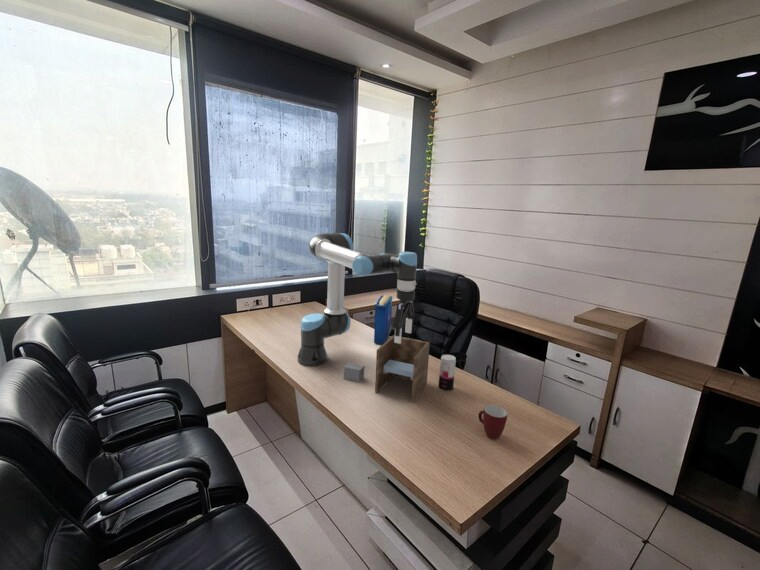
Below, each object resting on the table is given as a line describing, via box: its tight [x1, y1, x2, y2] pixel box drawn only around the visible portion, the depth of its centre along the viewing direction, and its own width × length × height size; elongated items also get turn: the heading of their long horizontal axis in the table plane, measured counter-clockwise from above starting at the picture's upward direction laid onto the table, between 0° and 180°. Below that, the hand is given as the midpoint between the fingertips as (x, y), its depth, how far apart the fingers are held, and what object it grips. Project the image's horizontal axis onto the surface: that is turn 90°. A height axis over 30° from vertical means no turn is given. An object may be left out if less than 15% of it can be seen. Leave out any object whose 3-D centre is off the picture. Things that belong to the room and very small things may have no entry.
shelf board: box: [383, 360, 414, 378], centre depth 156 cm, size 14×7×2 cm, turn 67°
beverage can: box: [438, 354, 457, 392], centre depth 160 cm, size 6×7×15 cm
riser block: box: [343, 362, 365, 383], centre depth 166 cm, size 8×5×6 cm, turn 67°
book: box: [373, 294, 393, 345], centre depth 215 cm, size 22×7×25 cm, turn 168°
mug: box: [477, 404, 508, 440], centre depth 129 cm, size 10×8×10 cm
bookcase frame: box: [374, 335, 431, 404], centre depth 158 cm, size 18×19×20 cm
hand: (403, 337), depth 153 cm, fingers open, 13 cm apart
